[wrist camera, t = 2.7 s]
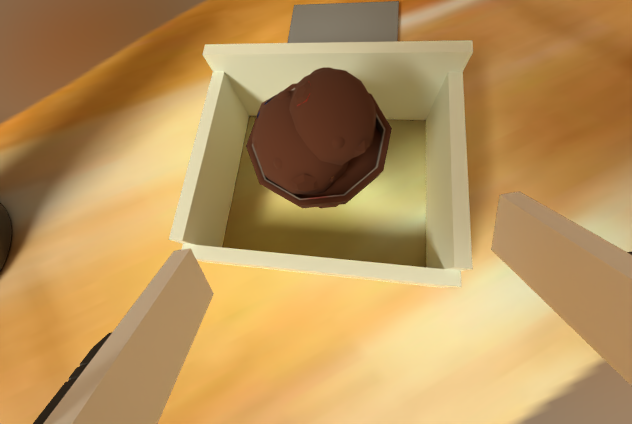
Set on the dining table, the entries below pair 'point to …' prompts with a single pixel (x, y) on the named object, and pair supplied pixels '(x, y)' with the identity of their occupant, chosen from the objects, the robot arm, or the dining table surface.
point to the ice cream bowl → (319, 140)
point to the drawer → (395, 103)
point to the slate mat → (344, 22)
